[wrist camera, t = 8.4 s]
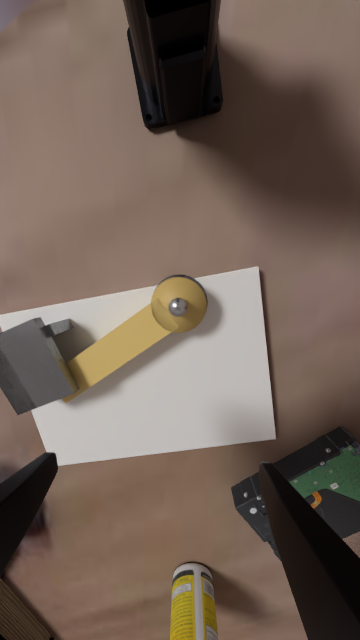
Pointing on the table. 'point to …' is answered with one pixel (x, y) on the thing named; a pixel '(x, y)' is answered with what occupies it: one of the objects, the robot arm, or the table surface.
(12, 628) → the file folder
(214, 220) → the table surface
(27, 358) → the keeper
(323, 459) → the disk drive
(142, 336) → the link
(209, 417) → the base plate
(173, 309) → the pintle
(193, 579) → the supplement bottle
